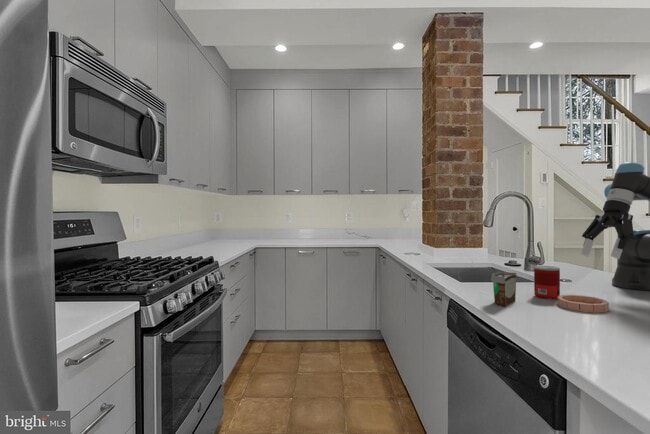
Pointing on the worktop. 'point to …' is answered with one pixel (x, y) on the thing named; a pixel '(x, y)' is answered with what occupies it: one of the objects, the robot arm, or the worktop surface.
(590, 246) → the robot arm
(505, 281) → the food container
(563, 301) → the ring dish
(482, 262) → the worktop surface
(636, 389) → the worktop surface
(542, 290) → the canned food
